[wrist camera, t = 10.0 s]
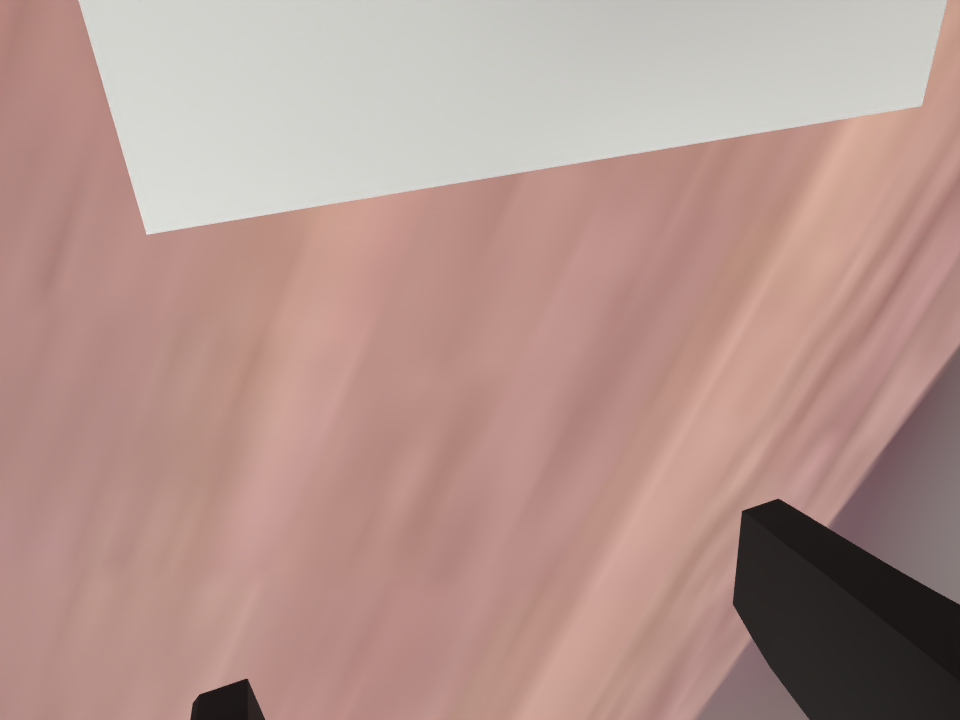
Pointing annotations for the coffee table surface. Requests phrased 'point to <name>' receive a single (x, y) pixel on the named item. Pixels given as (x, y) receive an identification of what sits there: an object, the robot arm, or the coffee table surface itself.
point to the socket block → (469, 88)
